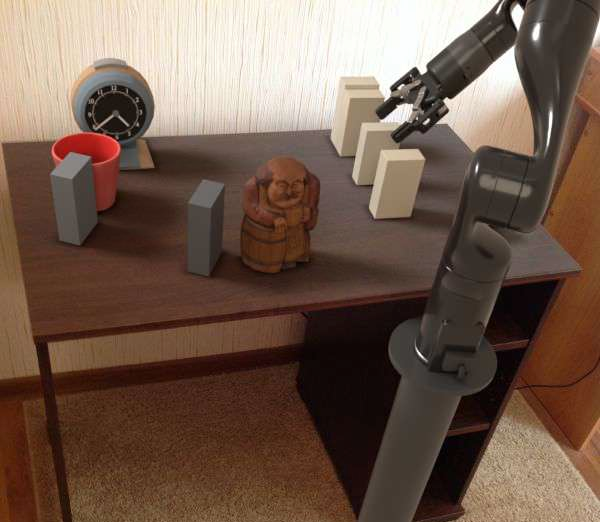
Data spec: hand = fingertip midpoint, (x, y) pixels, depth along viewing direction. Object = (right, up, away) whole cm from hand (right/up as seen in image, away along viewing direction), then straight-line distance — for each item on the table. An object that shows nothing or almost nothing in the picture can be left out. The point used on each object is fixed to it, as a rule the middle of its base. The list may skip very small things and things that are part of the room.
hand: (385, 127), depth 136 cm
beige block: (-2, -7, +8) cm, 11 cm away
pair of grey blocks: (-41, -25, -14) cm, 50 cm away
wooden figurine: (-19, -27, -13) cm, 35 cm away
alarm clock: (-50, -4, +3) cm, 50 cm away
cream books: (-2, -6, +9) cm, 11 cm away
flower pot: (-51, -15, -7) cm, 54 cm away
